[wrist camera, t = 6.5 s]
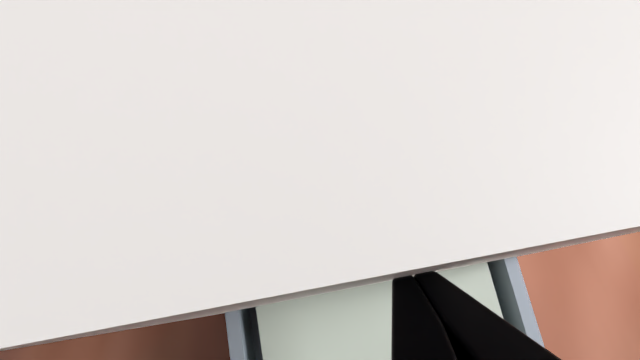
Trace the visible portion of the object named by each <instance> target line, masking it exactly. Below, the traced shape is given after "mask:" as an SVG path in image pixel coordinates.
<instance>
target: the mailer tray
mask: <svg viewBox="0 0 640 360" xmlns="http://www.w3.org/2000/svg"><path fill="white" fill-rule="evenodd" d="M437 273H439V274H440V275H442V276H443V277H445V278H446V279H447V280H449V281H450V282H452V283H453V284H454V285H456V286H457V287H459V288H460V289H462V290H463V291H464V292H466V293H467V294H469V295H470V296H472V297H473V298H474V299H476V300H477V301H479V302H480V303H481V304H483V305H484V306H486V307H487V308H489V309H490V310H491V311H493V312H494V313H496V314H497V315H499V316H500V317H501V318H503V319H504V320H506V321H507V322H508V323H510V324H511V325H513V326H514V327H516V328H517V329H518V330H520V331H521V332H523V333H524V334H526V335H527V336H528V337H530V338H531V339H533V340H534V341H535V342H537V343H538V344H540V345H541V346H543V347H544V344H543V341H542V338H541V334H540V331H539V328H538V325H537V321H536V318H535V315H534V312H533V309H532V305H531V302H530V299H529V296H528V292H527V289H526V286H525V283H524V279H523V276H522V273H521V270H520V267H519V263H518V260H517V257H511V258H506V259H500V260H495V261H490V262H485V263H480V264H474V265H469V266H464V267H459V268H454V269H448V270H443V271H438V272H437ZM413 277H414V276H413ZM225 318H226V327H227V335H228V344H229V352H230V360H391V336H392V280H391V281H386V282H381V283H376V284H371V285H365V286H360V287H355V288H350V289H345V290H339V291H334V292H329V293H324V294H319V295H313V296H308V297H303V298H298V299H293V300H288V301H282V302H277V303H272V304H267V305H262V306H256V307H251V308H246V309H241V310H236V311H230V312H225ZM544 348H545V347H544Z"/></svg>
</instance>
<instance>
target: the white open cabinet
mask: <svg viewBox="0 0 640 360" xmlns="http://www.w3.org/2000/svg"><path fill="white" fill-rule="evenodd" d="M635 232H640V0H0V351H4V350H10V349H16V348H22V347H28V346H33V345H39V344H45V343H51V342H57V341H63V340H69V339H75V338H81V337H87V336H93V335H99V334H105V333H111V332H117V331H123V330H128V329H134V328H140V327H146V326H152V325H158V324H164V323H170V322H176V321H182V320H188V319H194V318H200V317H206V316H212V315H217V314H223V313H225V312H230V311H236V310H241V309H246V308H251V307H256V306H262V305H267V304H272V303H277V302H282V301H288V300H293V299H298V298H303V297H308V296H313V295H319V294H324V293H329V292H334V291H339V290H345V289H350V288H355V287H360V286H365V285H371V284H376V283H381V282H386V281H391V280H393V279H394V278H399V277H404V276H409V275H411V276H414V275H416V274H419V273H425V272H430V271H435V272H438V271H443V270H448V269H454V268H459V267H464V266H469V265H474V264H480V263H485V262H490V261H495V260H500V259H506V258H511V257H518V256H523V255H528V254H532V253H537V252H542V251H547V250H552V249H557V248H562V247H567V246H571V245H576V244H581V243H586V242H591V241H596V240H601V239H606V238H611V237H615V236H620V235H625V234H630V233H635Z"/></svg>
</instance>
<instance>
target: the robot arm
mask: <svg viewBox="0 0 640 360" xmlns="http://www.w3.org/2000/svg"><path fill="white" fill-rule="evenodd" d="M391 360H561V359H560V358H558V357H557V356H555V355H554V354H553V353H551V352H550V351H548V350H547V349H545V348H544V347H543V346H541V345H540V344H538V343H537V342H535V341H534V340H533V339H531V338H530V337H528V336H527V335H526V334H524V333H523V332H521V331H520V330H518V329H517V328H516V327H514V326H513V325H511V324H510V323H508V322H507V321H506V320H504V319H503V318H501V317H500V316H499V315H497V314H496V313H494V312H493V311H491V310H490V309H489V308H487V307H486V306H484V305H483V304H481V303H480V302H479V301H477V300H476V299H474V298H473V297H472V296H470V295H469V294H467V293H466V292H464V291H463V290H462V289H460V288H459V287H457V286H456V285H454V284H453V283H452V282H450V281H449V280H447V279H446V278H445V277H443V276H442V275H440V274H439V273H437V272H435V271H430V272H425V273H419V274H416V275H414V277H413V276H411V275H409V276H404V277H399V278H394V279H393V280H392V336H391Z"/></svg>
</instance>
